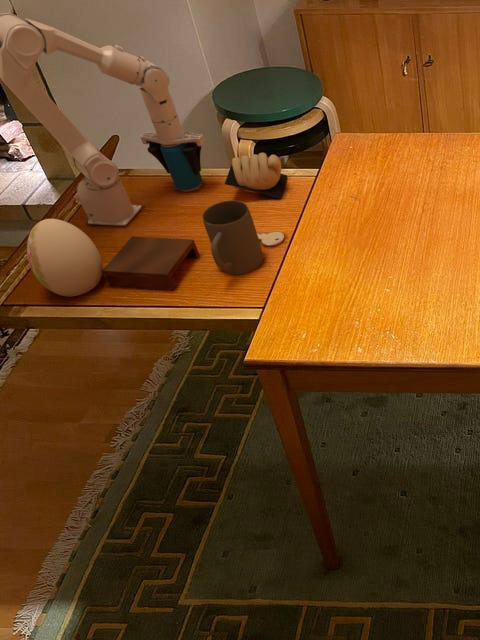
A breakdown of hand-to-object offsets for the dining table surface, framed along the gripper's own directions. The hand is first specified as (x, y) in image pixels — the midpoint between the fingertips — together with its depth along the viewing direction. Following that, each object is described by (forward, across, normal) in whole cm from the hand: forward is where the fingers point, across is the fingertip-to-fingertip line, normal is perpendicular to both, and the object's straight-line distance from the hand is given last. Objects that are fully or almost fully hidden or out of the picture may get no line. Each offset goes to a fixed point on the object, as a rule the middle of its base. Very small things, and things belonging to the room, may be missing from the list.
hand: (184, 171), depth 170 cm
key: (+3, -27, +17) cm, 32 cm away
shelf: (+4, -8, +33) cm, 34 cm away
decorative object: (-1, -18, -5) cm, 19 cm away
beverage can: (+4, 0, 0) cm, 4 cm away
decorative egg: (+4, +6, +39) cm, 40 cm away
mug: (+4, -25, +31) cm, 40 cm away
